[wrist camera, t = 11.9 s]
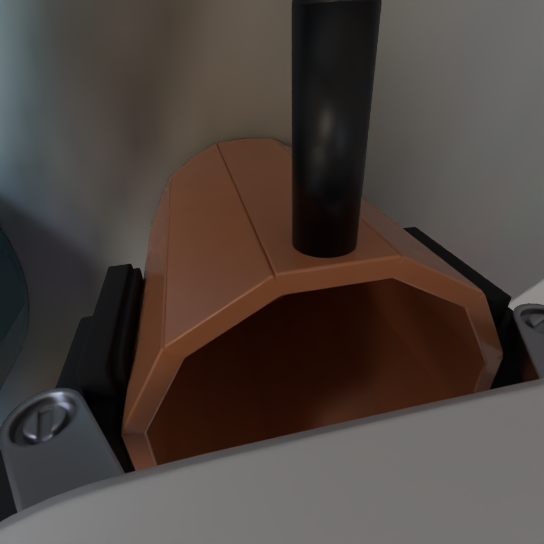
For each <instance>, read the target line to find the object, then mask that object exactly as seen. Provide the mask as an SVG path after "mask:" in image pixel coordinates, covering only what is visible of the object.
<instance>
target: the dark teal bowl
mask: <svg viewBox="0 0 544 544" xmlns="http://www.w3.org/2000/svg"><path fill="white" fill-rule="evenodd" d="M28 316H29V301H28V294H27V287H26V282H25V279H24V276H23V273H22V270H21V266H20V263H19V261H18V259H17V257H16V255H15V253H14V251H13V249H12V247H11V245H10V243H9V241H8V239H7V238H6V236H5V235H4V233H3V232H2V230H1V229H0V390H1V388H2V386H3V384H4V382H5V380H6V378H7V376H8V374H9V372H10V370H11V368H12V367H13V365H14V363H15V361H16V359H17V357H18V355H19V353H20V351H21V348H22V344H23V342H24V338H25V334H26V330H27V326H28Z"/></svg>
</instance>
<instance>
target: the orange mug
mask: <svg viewBox="0 0 544 544" xmlns="http://www.w3.org/2000/svg"><path fill="white" fill-rule="evenodd" d="M380 13H381V0H292V148H291V147H289V146H287V145H285V144H283V143H281V142H279V141H277V140H275V139H272V138H265V139H258V138H243V139H237V140H230V141H227V142H218V143H217V144H216V143H215V144H213V145H212V146H211V147H209V148H208V149H205V150H203V151H202V152H200V153H199V154H197V155H195V156H194V157H192V158H191V159H190V160H189V161H188V162H186V163H185V164H184V165H183V166H182V167H181V168H180V169H179V170H177V171H176V172H175V173H173V174H172V175H171V177H170V178H169V180H168V183H167V186H166V188H165V190H164V192H163V194H162V196H161V199H160V202H159V205H158V208H157V211H156V213H155V216H154V218H153V221H152V225H151V232H150V239H149V245H148V252H147V259H146V266H145V273H144V279H143V286H142V293H141V300H140V307H139V313H138V320H137V327H136V334H135V340H134V347H133V354H132V361H131V368H130V374H129V381H128V388H127V395H126V402H125V408H124V415H123V422H122V429H121V431H122V432H121V436H122V439H123V441H124V444H125V446H126V449H127V451H128V454H129V456H130V459H131V461H132V463H133V466H134V468H135V471H137V470H141V469H145V468H149V467H153V466H157V465H161V464H166V463H170V462H174V461H178V460H182V459H186V458H190V457H194V456H198V455H202V454H206V453H210V452H215V451H219V450H223V449H228V448H232V447H237V446H241V445H245V444H250V443H254V442H258V441H263V440H267V439H272V438H276V437H280V436H285V435H289V434H293V433H298V432H302V431H306V430H311V429H315V428H320V427H324V426H328V425H333V424H337V423H342V422H346V421H351V420H355V419H360V418H364V417H369V416H373V415H378V414H382V413H386V412H391V411H395V410H400V409H404V408H409V407H413V406H418V405H422V404H427V403H431V402H436V401H440V400H445V399H450V398H454V397H459V396H463V395H468V394H473V393H477V392H482V391H487V390H490V388H491V385H492V383H493V380H494V378H495V376H496V373H497V371H498V368H499V366H500V364H501V361H502V359H503V351H502V347H501V344H500V341H499V338H498V334H497V331H496V328H495V325H494V322H493V318H492V315H491V312H490V309H489V306H488V302H487V299H486V296H485V293H483V292H482V290H481V289H480V288H478V287H477V286H476V285H474V284H473V283H472V282H471V281H469V280H468V279H467V278H466V277H464V276H463V275H462V274H460V273H459V272H458V271H457V270H455V269H454V268H453V267H451V266H450V265H449V264H448V263H446V262H445V261H444V260H442V259H441V258H440V257H439V256H437V255H436V254H435V253H433V252H432V251H431V250H430V249H428V248H427V247H426V246H424V245H423V244H422V243H421V242H419V241H418V240H417V239H416V238H414V237H413V236H412V235H410V234H409V233H408V232H407V231H405V230H404V229H403V228H401V227H400V226H399V225H398V224H396V223H395V222H394V221H392V220H391V219H390V218H389V217H387V216H386V215H385V214H383V213H382V212H381V211H380V210H378V209H377V208H376V207H374V206H373V205H372V204H371V203H369V202H368V201H367V200H365V199H364V198H363V197H362V188H363V178H364V168H365V159H366V149H367V139H368V129H369V120H370V110H371V100H372V90H373V81H374V71H375V61H376V52H377V42H378V32H379V22H380Z"/></svg>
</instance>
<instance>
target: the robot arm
mask: <svg viewBox="0 0 544 544" xmlns="http://www.w3.org/2000/svg"><path fill="white" fill-rule="evenodd" d="M403 229H404V230H405V231H407V232H408V233H409V234H410V235H412V236H413V237H414V238H416V239H417V240H418V241H419V242H421V243H422V244H423V245H424V246H426V247H427V248H428V249H430V250H431V251H432V252H433V253H435V254H436V255H437V256H439V257H440V258H441V259H442V260H444V261H445V262H446V263H448V264H449V265H450V266H451V267H453V268H454V269H455V270H457V271H458V272H459V273H460V274H462V275H463V276H464V277H466V278H467V279H468V280H469V281H471V282H472V283H473V284H474V285H476V286H477V287H478V288H480V289H481V290H482V292H483V293H485V296H486V299H487V302H488V306H489V309H490V312H491V315H492V318H493V322H494V325H495V328H496V331H497V334H498V338H499V341H500V344H501V347H502V351H503V359H502V361H501V364H500V366H499V368H498V371H497V373H496V376H495V378H494V380H493V383H492V385H491V388H490V390H487V391H482V392H477V393H473V394H468V395H463V396H459V397H454V398H450V399H445V400H440V401H436V402H431V403H427V404H422V405H418V406H413V407H409V408H404V409H400V410H395V411H391V412H386V413H382V414H378V415H373V416H369V417H364V418H360V419H355V420H351V421H346V422H342V423H337V424H333V425H328V426H324V427H320V428H315V429H311V430H306V431H302V432H298V433H293V434H289V435H285V436H280V437H276V438H272V439H267V440H263V441H258V442H254V443H250V444H245V445H241V446H237V447H232V448H228V449H223V450H219V451H215V452H210V453H206V454H202V455H198V456H194V457H190V458H186V459H182V460H178V461H174V462H170V463H166V464H161V465H157V466H153V467H149V468H145V469H141V470H137V471H135V468H134V466H133V463H132V461H131V459H130V456H129V454H128V451H127V449H126V446H125V444H124V441H123V439H122V436H121V432H122V431H121V429H122V422H123V415H124V408H125V402H126V395H127V388H128V381H129V374H130V368H131V361H132V354H133V347H134V340H135V334H136V327H137V320H138V313H139V307H140V300H141V293H142V286H143V277H142V273H141V270H140V268H135V269H133V267H132V265H131V264H126V265H118V266H111V267H109V268H108V271H107V274H106V277H105V280H104V283H103V286H102V289H101V293H100V296H99V299H98V302H97V305H96V308H95V311H94V314H93V316H89V317H83V318H82V319H81V320H80V322H79V325H78V328H77V330H76V333H75V336H74V339H73V341H72V344H71V347H70V350H69V353H68V355H67V358H66V361H65V364H64V366H63V369H62V372H61V375H60V377H59V380H58V383H57V386H56V388H55V389H52V390H47V391H44V392H42V393H39V394H37V395H34V396H33V397H31V398H29V399H28V400H26V401H24V402H23V403H21V404H20V405H19V406H18V407H17V408H15V409H14V410H13V411H12V412H11V413H10V414H9V416H8V417H7V418H6V420H5V421H4V422H3V424H2V427H1V429H0V449H1V450H0V544H544V305H541V304H523V305H519V306H517V307H516V308H515V309H514V311H513V310H511V309H510V308H509V307H508V305H509V302H510V300H511V297H510V296H509V295H508V294H506V293H505V292H504V291H502V290H501V289H499V288H498V287H497V286H495V285H494V284H493V283H491V282H490V281H489V280H487V279H486V278H484V277H483V276H482V275H480V274H479V273H478V272H476V271H475V270H473V269H472V268H471V267H469V266H468V265H467V264H465V263H464V262H463V261H461V260H460V259H458V258H457V257H456V256H454V255H453V254H452V253H450V252H449V251H447V250H446V249H445V248H443V247H442V246H441V245H439V244H438V243H437V242H435V241H434V240H432V239H431V238H430V237H428V236H427V235H426V234H424V233H423V232H421V231H420V230H419V229H417V228H415V227H410V228H403Z"/></svg>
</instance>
